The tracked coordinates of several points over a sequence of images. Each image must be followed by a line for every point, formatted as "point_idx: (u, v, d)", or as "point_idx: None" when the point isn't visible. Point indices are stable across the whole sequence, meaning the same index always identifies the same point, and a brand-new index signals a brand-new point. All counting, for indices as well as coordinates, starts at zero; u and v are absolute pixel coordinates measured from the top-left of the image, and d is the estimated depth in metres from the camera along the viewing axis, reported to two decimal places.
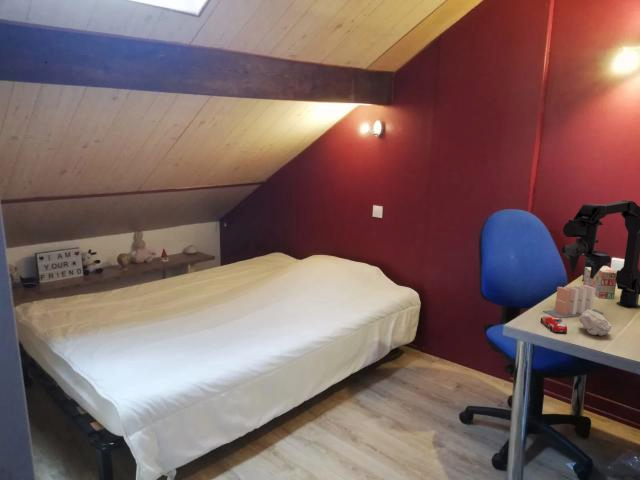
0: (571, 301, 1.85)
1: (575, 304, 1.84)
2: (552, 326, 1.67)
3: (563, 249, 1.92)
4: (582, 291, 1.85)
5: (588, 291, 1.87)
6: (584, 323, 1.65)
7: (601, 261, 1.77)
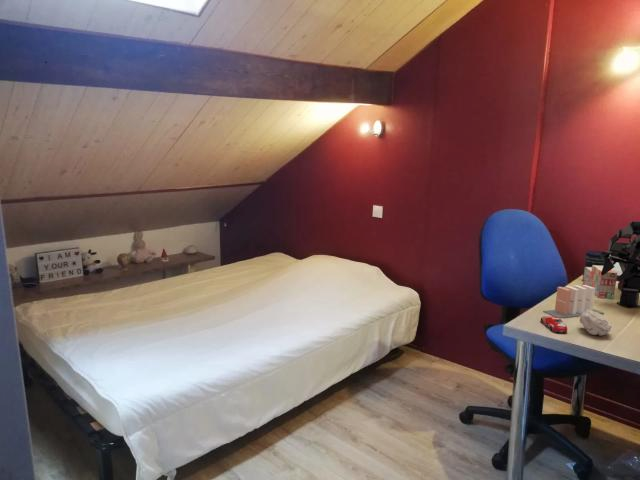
0: (571, 301, 1.85)
1: (575, 304, 1.84)
2: (552, 326, 1.67)
3: (603, 252, 1.97)
4: (582, 291, 1.85)
5: (588, 291, 1.87)
6: (584, 323, 1.65)
7: None
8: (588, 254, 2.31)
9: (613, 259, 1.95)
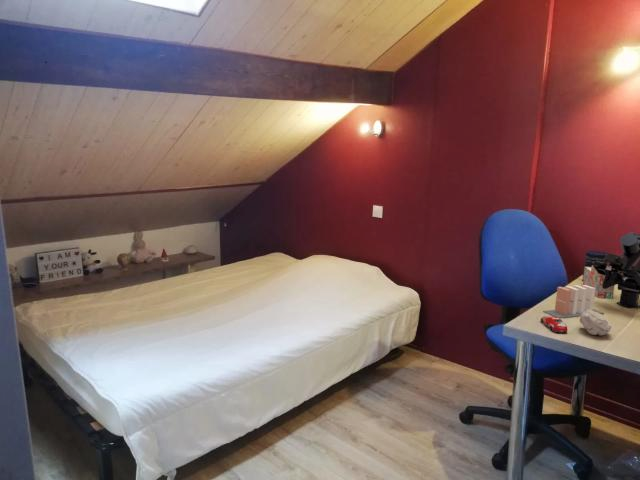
0: (571, 301, 1.85)
1: (575, 304, 1.84)
2: (552, 326, 1.67)
3: (596, 262, 1.97)
4: (582, 291, 1.85)
5: (588, 291, 1.87)
6: (584, 323, 1.65)
7: (635, 276, 1.81)
8: (588, 254, 2.31)
9: None
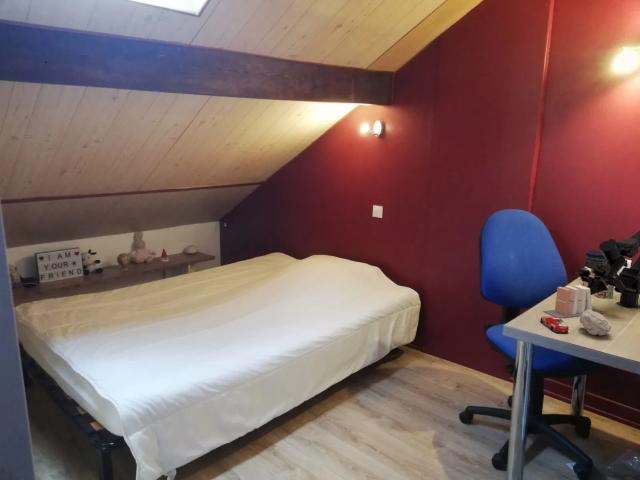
0: (571, 301, 1.85)
1: (575, 304, 1.84)
2: (553, 326, 1.67)
3: (580, 269, 1.95)
4: (582, 291, 1.85)
5: None
6: (584, 323, 1.65)
7: (617, 284, 1.79)
8: (588, 254, 2.31)
9: None
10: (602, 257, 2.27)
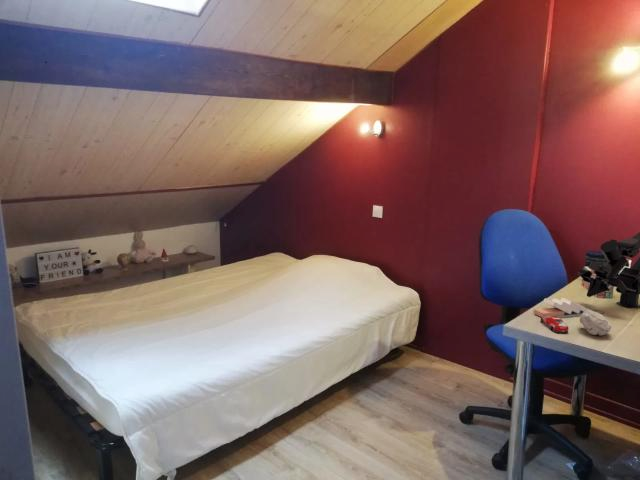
0: None
1: (564, 309, 1.83)
2: (553, 326, 1.67)
3: (582, 270, 1.96)
4: (562, 305, 1.83)
5: None
6: (584, 323, 1.65)
7: (619, 284, 1.80)
8: (588, 254, 2.31)
9: None
10: (602, 257, 2.27)
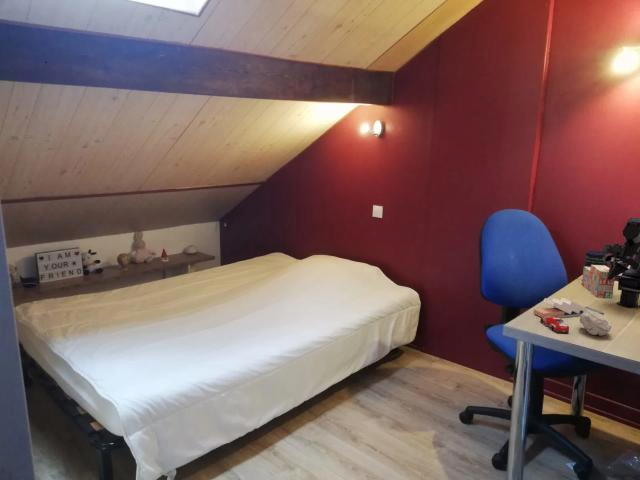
0: None
1: (564, 309, 1.83)
2: (554, 326, 1.67)
3: (604, 256, 1.99)
4: (562, 305, 1.83)
5: None
6: (584, 323, 1.65)
7: (627, 261, 1.81)
8: (588, 254, 2.31)
9: None
10: (602, 257, 2.27)
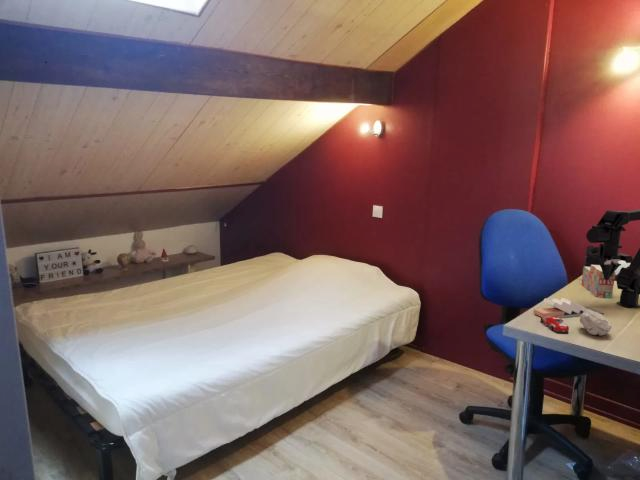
0: None
1: (564, 309, 1.83)
2: (554, 326, 1.67)
3: None
4: (562, 305, 1.83)
5: None
6: (584, 323, 1.65)
7: (586, 260, 1.90)
8: (588, 254, 2.31)
9: None
10: None
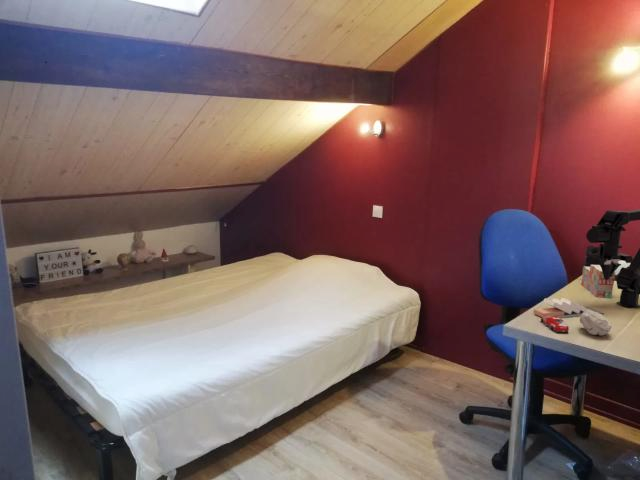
0: None
1: (564, 309, 1.83)
2: (553, 326, 1.67)
3: None
4: (562, 305, 1.83)
5: None
6: (584, 323, 1.65)
7: (586, 260, 1.90)
8: (588, 254, 2.31)
9: None
10: None
